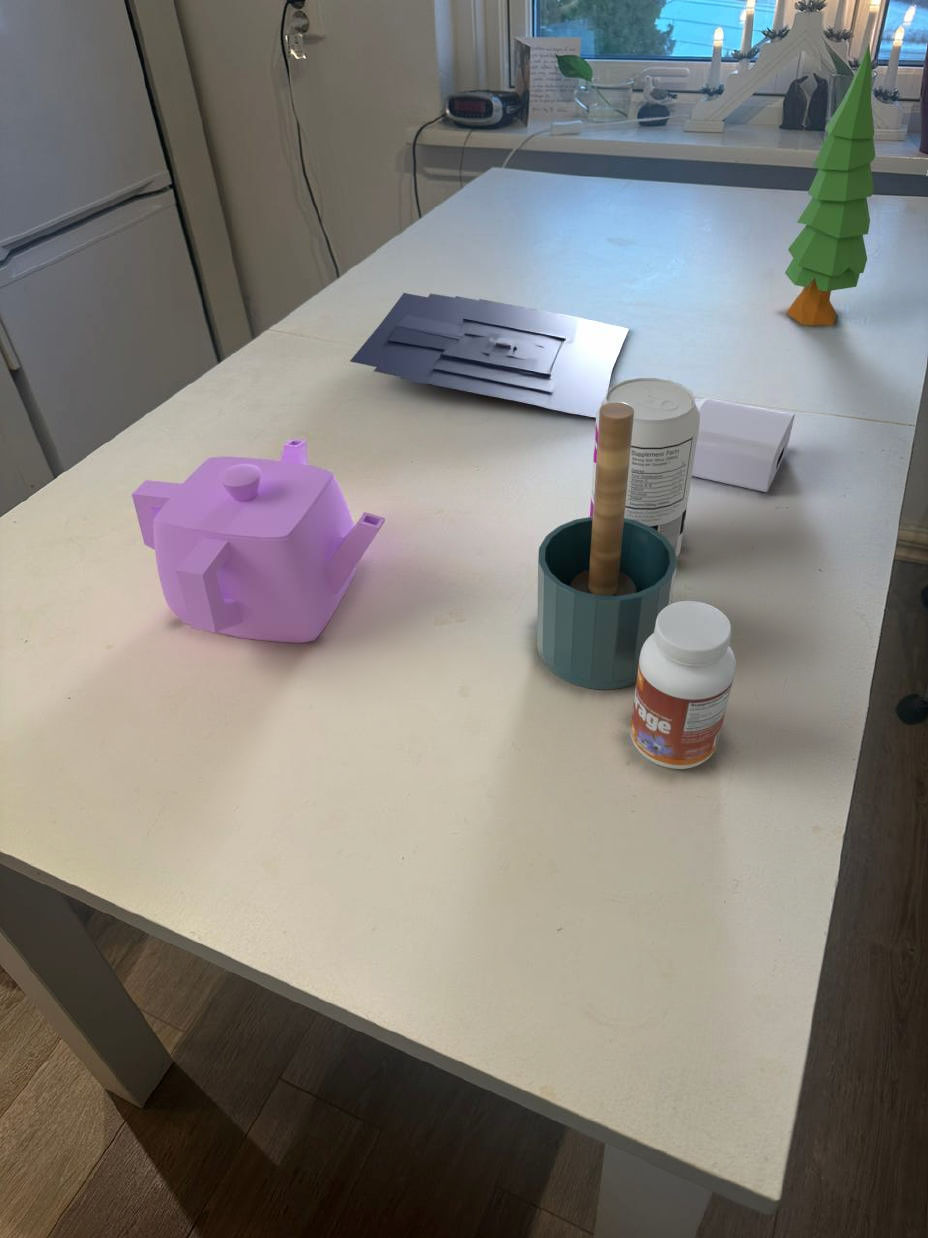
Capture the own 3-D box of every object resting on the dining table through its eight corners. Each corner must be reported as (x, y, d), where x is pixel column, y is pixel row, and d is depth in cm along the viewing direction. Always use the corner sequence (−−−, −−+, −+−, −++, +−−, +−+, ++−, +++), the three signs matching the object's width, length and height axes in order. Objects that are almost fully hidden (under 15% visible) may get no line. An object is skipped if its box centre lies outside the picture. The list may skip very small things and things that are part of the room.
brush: (640, 651, 68) (668, 422, 55) (578, 663, 67) (592, 434, 54) (618, 610, 72) (639, 386, 58) (559, 621, 71) (567, 397, 58)
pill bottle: (614, 719, 64) (626, 605, 57) (689, 697, 65) (710, 583, 58) (655, 783, 60) (674, 669, 52) (734, 757, 61) (763, 642, 54)
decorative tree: (806, 297, 118) (864, 34, 98) (869, 316, 113) (945, 42, 93) (762, 318, 114) (814, 47, 94) (827, 340, 108) (896, 57, 88)
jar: (683, 676, 67) (699, 585, 61) (558, 700, 66) (561, 611, 60) (636, 594, 74) (646, 507, 68) (523, 615, 73) (523, 527, 67)
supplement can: (571, 558, 78) (579, 407, 68) (614, 513, 83) (627, 365, 73) (655, 589, 75) (675, 434, 65) (694, 539, 80) (719, 388, 70)
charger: (647, 422, 96) (787, 451, 90) (617, 464, 90) (765, 497, 84) (651, 382, 92) (796, 409, 87) (621, 422, 87) (774, 454, 81)
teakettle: (149, 575, 79) (106, 458, 71) (321, 514, 85) (299, 399, 77) (208, 690, 68) (165, 566, 60) (401, 611, 74) (386, 488, 66)
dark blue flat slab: (407, 306, 119) (408, 280, 117) (624, 347, 115) (630, 320, 112) (344, 390, 102) (343, 361, 99) (597, 441, 98) (603, 412, 95)
